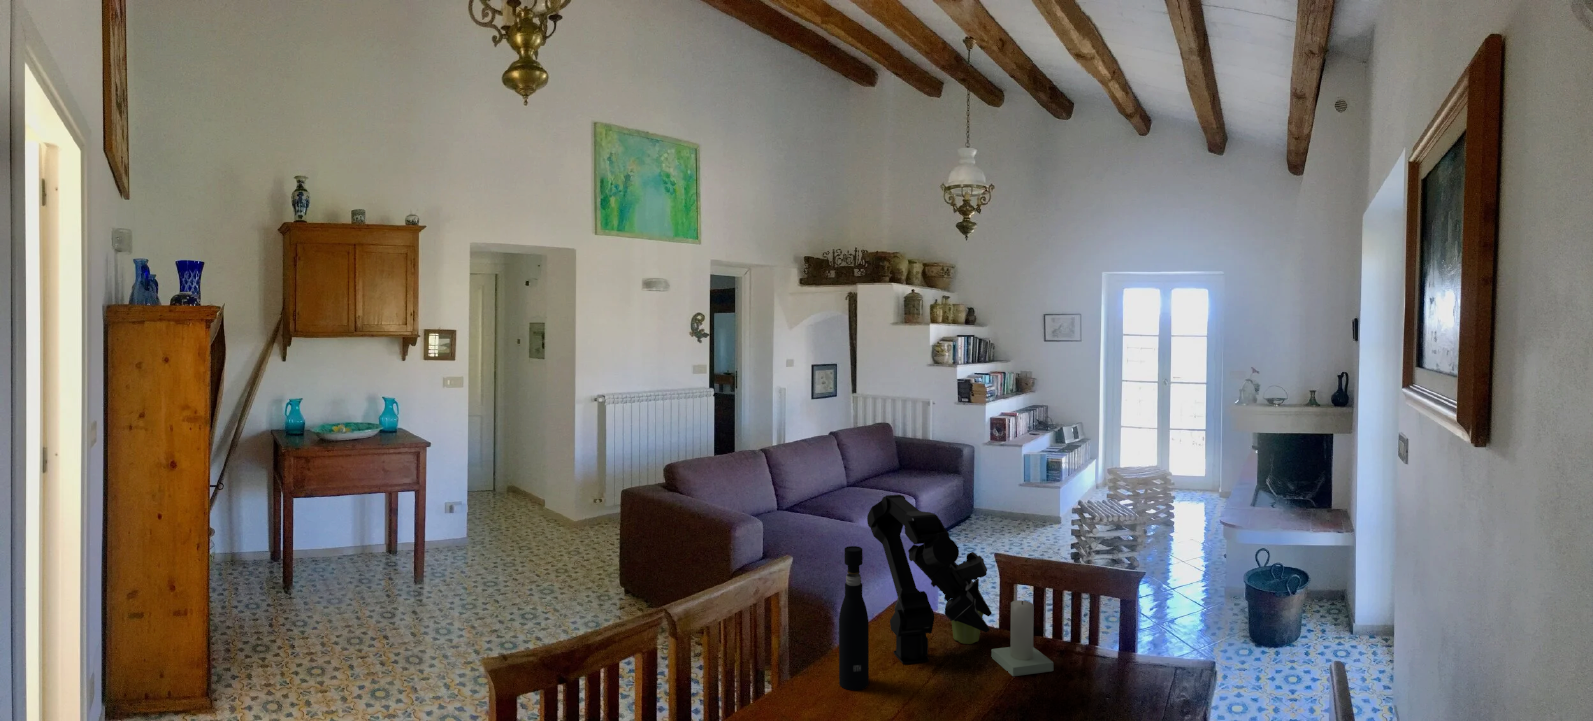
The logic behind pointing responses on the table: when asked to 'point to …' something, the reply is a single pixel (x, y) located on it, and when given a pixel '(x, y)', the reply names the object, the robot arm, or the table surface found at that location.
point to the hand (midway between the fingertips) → (989, 622)
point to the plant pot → (965, 632)
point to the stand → (1022, 662)
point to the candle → (1022, 630)
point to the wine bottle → (853, 627)
